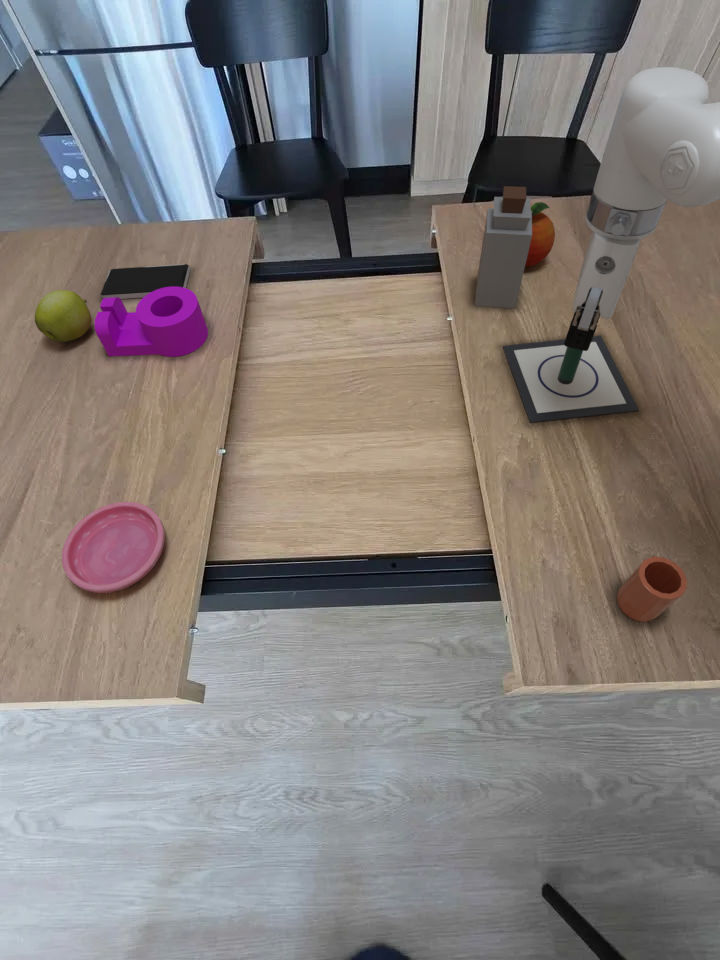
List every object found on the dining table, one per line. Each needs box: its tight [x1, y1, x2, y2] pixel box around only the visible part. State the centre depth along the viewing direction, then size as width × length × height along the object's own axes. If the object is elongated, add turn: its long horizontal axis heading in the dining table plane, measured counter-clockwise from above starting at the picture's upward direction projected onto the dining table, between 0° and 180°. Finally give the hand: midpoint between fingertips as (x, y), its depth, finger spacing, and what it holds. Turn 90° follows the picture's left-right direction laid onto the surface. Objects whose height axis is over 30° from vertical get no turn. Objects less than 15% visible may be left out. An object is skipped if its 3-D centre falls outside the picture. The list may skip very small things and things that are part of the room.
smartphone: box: [100, 263, 191, 300], centre depth 102 cm, size 8×1×15 cm
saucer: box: [61, 501, 166, 594], centre depth 70 cm, size 12×12×3 cm
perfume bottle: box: [474, 185, 532, 310], centre depth 89 cm, size 7×7×18 cm
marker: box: [558, 311, 595, 385], centre depth 76 cm, size 2×2×13 cm
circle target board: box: [502, 335, 640, 424], centre depth 84 cm, size 16×16×1 cm
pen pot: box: [616, 556, 688, 623], centre depth 62 cm, size 5×5×7 cm
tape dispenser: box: [94, 286, 209, 358], centre depth 91 cm, size 16×10×6 cm, turn 91°
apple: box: [34, 289, 92, 343], centre depth 92 cm, size 8×9×8 cm
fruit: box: [525, 201, 556, 268], centre depth 97 cm, size 10×10×10 cm
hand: (578, 339), depth 75 cm, fingers closed on marker, 2 cm apart
